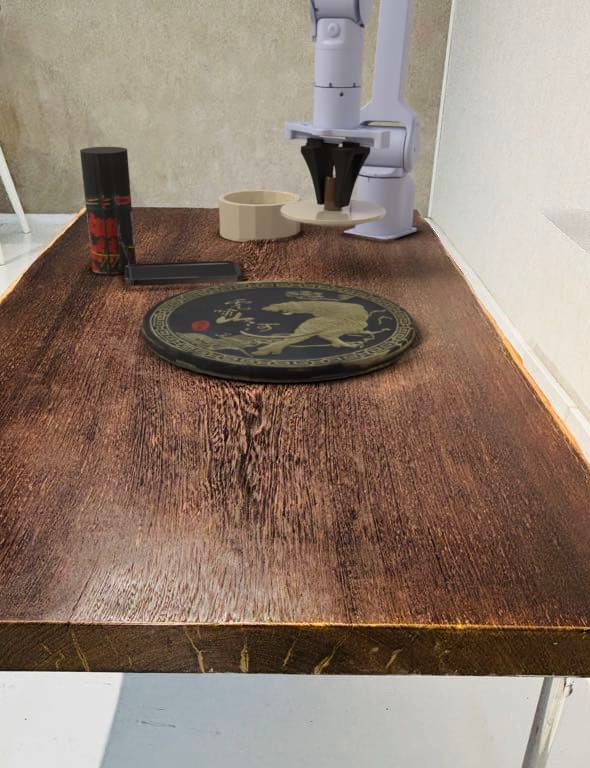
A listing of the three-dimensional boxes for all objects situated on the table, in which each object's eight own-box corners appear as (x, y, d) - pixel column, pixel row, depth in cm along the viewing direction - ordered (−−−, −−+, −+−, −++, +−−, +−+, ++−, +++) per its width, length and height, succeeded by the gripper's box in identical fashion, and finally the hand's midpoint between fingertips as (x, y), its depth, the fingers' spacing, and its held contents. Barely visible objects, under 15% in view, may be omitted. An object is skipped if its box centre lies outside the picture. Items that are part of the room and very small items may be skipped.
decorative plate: (100, 354, 84) (183, 271, 109) (101, 372, 85) (183, 287, 110) (409, 379, 79) (422, 287, 104) (407, 398, 80) (420, 302, 105)
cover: (320, 203, 119) (321, 163, 117) (404, 216, 112) (408, 174, 109) (258, 219, 110) (258, 177, 108) (346, 235, 103) (348, 190, 101)
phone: (124, 264, 115) (236, 260, 116) (125, 273, 115) (236, 268, 117) (124, 280, 108) (242, 275, 110) (125, 289, 109) (242, 284, 110)
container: (254, 221, 143) (253, 186, 140) (315, 232, 136) (316, 196, 133) (203, 234, 135) (201, 198, 132) (265, 247, 128) (265, 209, 125)
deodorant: (87, 266, 119) (74, 148, 111) (128, 261, 121) (119, 145, 113) (99, 276, 114) (87, 154, 106) (142, 271, 116) (133, 151, 108)
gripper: (270, 85, 104) (269, 202, 112) (370, 91, 97) (363, 217, 104) (304, 81, 109) (301, 194, 116) (403, 87, 101) (393, 208, 109)
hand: (332, 205), depth 111 cm, fingers closed on cover, 2 cm apart
